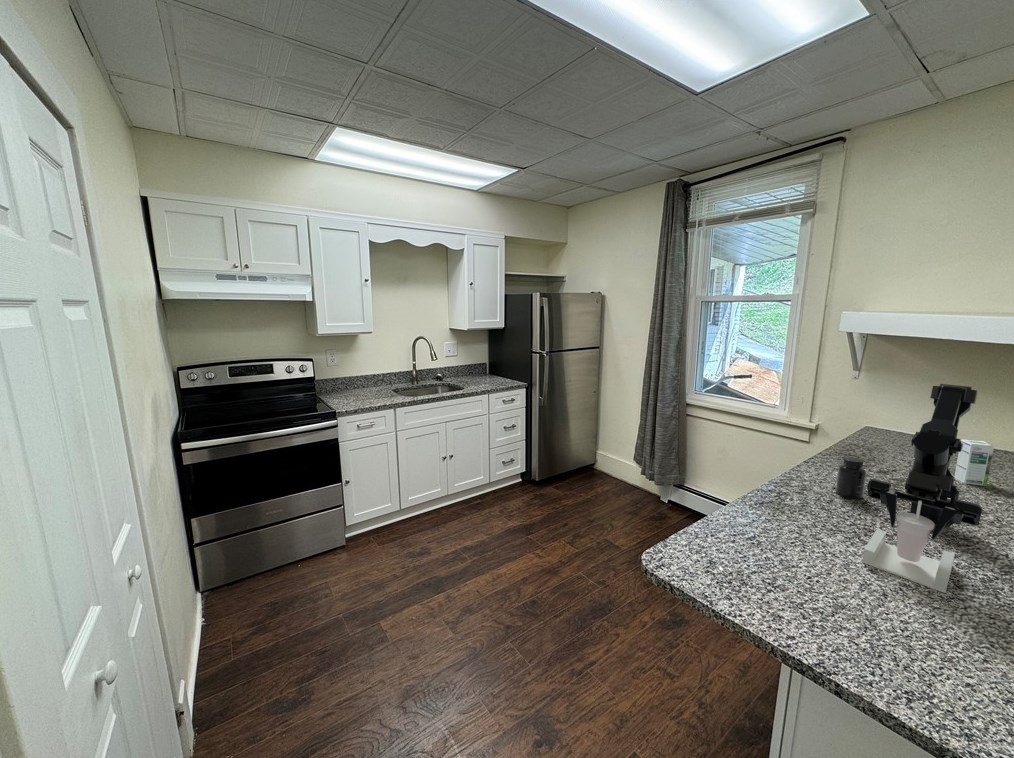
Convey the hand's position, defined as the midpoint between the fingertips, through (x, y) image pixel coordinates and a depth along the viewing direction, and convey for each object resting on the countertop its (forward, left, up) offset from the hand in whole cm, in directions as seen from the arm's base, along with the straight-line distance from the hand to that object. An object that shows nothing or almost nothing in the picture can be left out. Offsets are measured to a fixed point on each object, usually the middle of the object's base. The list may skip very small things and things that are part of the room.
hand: (911, 533), depth 93 cm
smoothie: (-1, -1, -7) cm, 7 cm away
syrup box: (-59, -59, -9) cm, 84 cm away
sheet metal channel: (-1, -1, -9) cm, 9 cm away
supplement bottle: (-11, -40, -9) cm, 42 cm away
